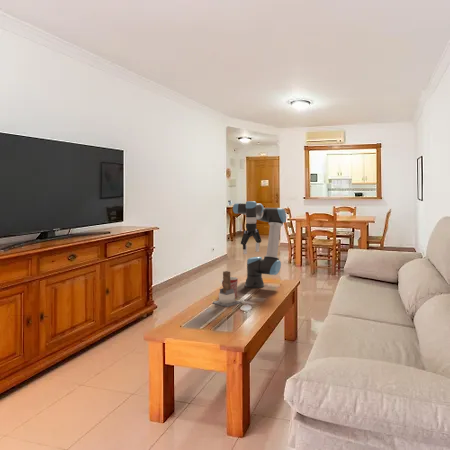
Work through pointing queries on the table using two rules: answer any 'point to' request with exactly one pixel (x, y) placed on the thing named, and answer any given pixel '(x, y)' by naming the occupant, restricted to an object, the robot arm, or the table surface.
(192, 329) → the table surface
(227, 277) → the wood plank
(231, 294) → the square plate with disc
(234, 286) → the mug
